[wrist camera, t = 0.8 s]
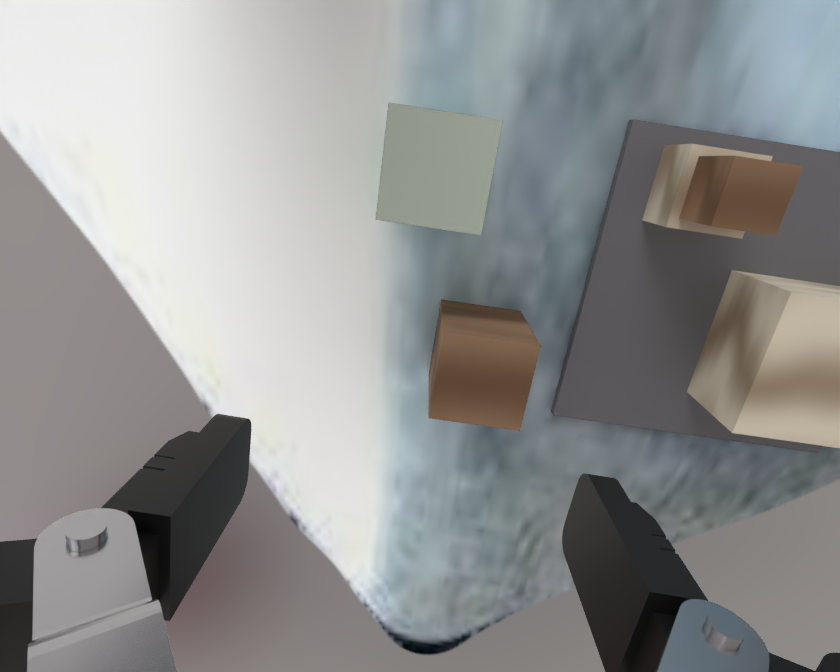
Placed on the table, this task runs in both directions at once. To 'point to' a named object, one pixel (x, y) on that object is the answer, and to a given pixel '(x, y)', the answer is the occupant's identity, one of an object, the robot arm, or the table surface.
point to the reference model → (720, 191)
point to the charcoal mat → (682, 286)
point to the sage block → (437, 168)
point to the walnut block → (481, 365)
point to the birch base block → (773, 360)
